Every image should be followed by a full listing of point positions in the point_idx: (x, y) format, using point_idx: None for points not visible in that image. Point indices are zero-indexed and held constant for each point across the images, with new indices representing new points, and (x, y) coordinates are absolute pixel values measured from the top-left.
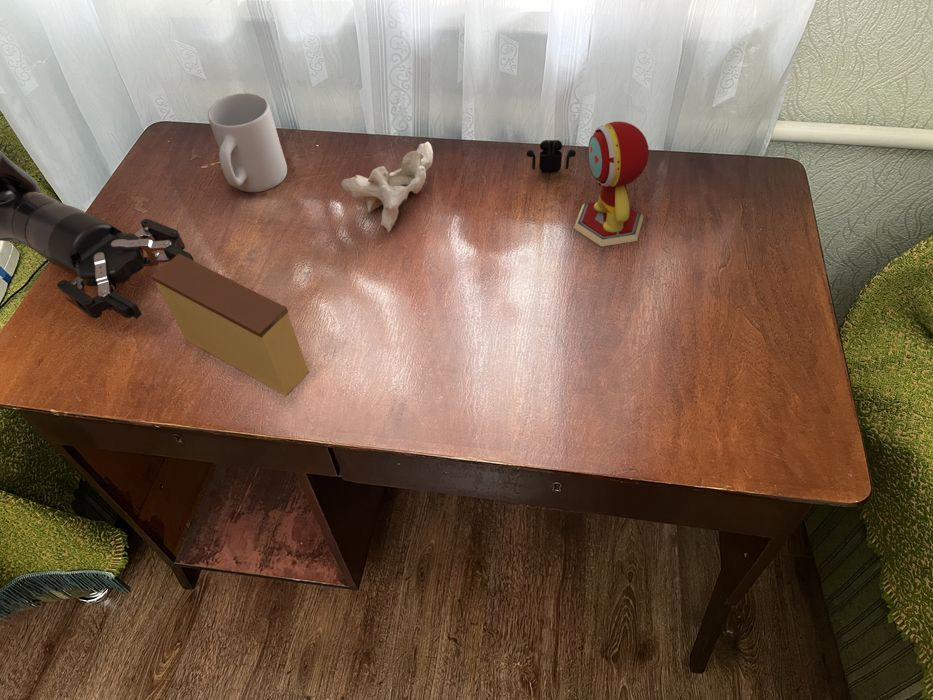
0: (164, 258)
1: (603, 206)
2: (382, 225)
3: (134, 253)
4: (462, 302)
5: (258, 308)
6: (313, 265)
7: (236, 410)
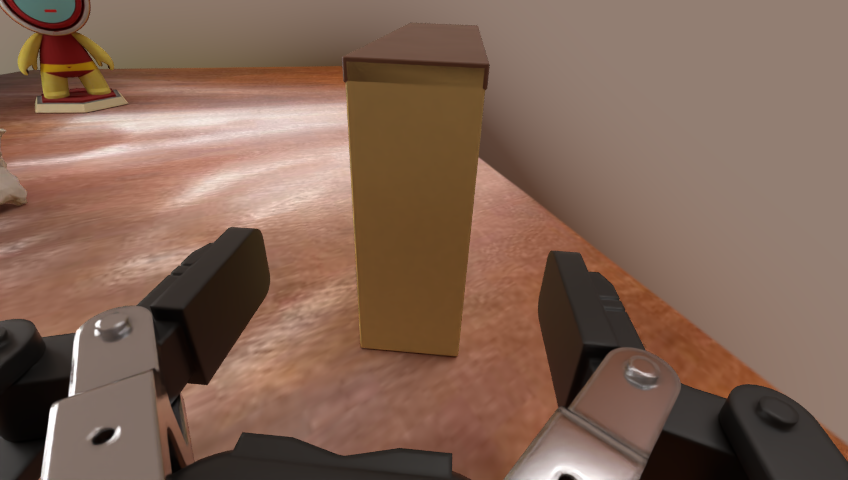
0: (175, 417)
1: (65, 85)
2: (2, 200)
3: (218, 462)
4: (229, 139)
5: (434, 26)
6: (122, 258)
7: (528, 222)
